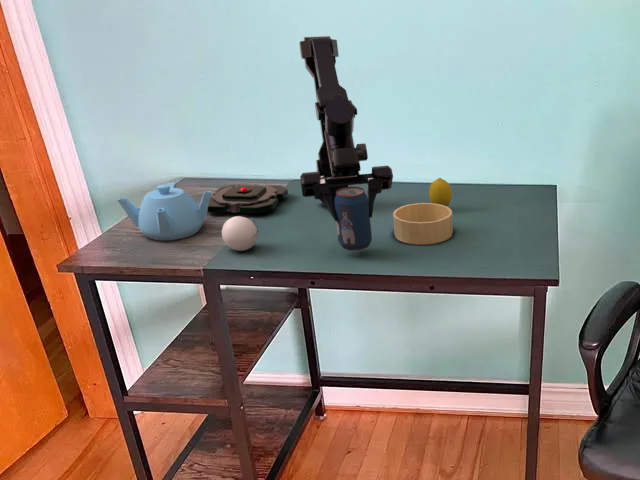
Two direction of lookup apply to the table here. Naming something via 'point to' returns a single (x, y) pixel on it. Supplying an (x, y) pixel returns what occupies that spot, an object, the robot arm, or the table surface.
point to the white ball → (239, 233)
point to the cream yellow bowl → (423, 223)
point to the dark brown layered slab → (246, 198)
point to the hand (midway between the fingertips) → (353, 218)
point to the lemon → (440, 192)
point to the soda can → (353, 218)
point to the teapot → (168, 213)
